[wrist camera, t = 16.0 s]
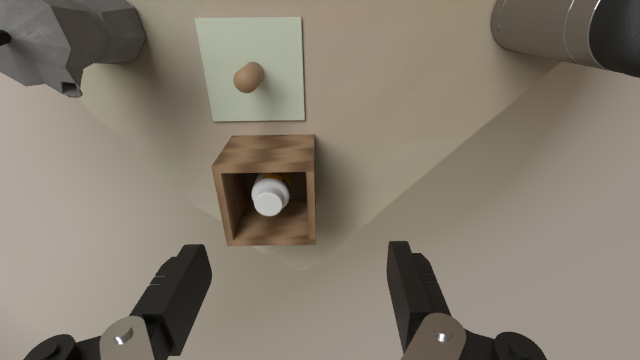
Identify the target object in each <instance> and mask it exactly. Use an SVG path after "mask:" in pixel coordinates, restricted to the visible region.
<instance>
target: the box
mask: <svg viewBox="0 0 640 360" xmlns="http://www.w3.org/2000/svg"><path fill="white" fill-rule="evenodd" d="M212 171H213V176H214V181H215V186H216V191H217V196H218V201H219V206H220V211H221V216H222V221H223V226H224V231H225V236H226V241H227V246H256V245H314V244H316V185H315V142H314V135H256V136H232V137H231V138H230V140H229V141H228V143H227V144H226V146H225V147H224V149H223V150H222V152H221V153H220V155H219V156H218V158H217V159H216V161H215V162H214V164H213V165H212ZM269 172H306V178H307V199H289V201H288V203H287V205H286V206H285V207H284V208H283V209H281V211H280V212H279V213H278V214H276V215H274V216H265V215H262V214H260V213H259V212H258V211H257V210H256V208H255V206H254V202H253V200H248V198H247V191H246V184H245V177H244V173H269Z"/></svg>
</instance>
